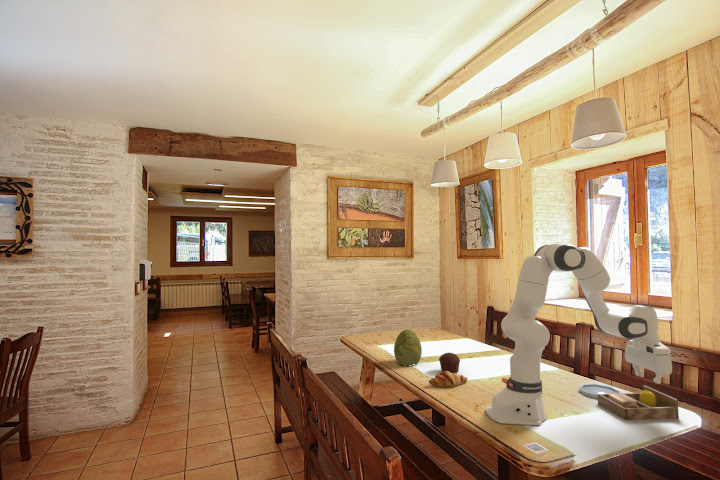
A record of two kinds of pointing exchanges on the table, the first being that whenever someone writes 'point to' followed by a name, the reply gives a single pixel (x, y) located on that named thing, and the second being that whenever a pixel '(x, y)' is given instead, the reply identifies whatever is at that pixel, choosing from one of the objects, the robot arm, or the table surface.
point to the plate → (596, 390)
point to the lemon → (647, 398)
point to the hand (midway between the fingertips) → (647, 379)
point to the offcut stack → (623, 400)
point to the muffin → (449, 362)
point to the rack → (643, 406)
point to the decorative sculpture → (407, 348)
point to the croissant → (448, 379)
